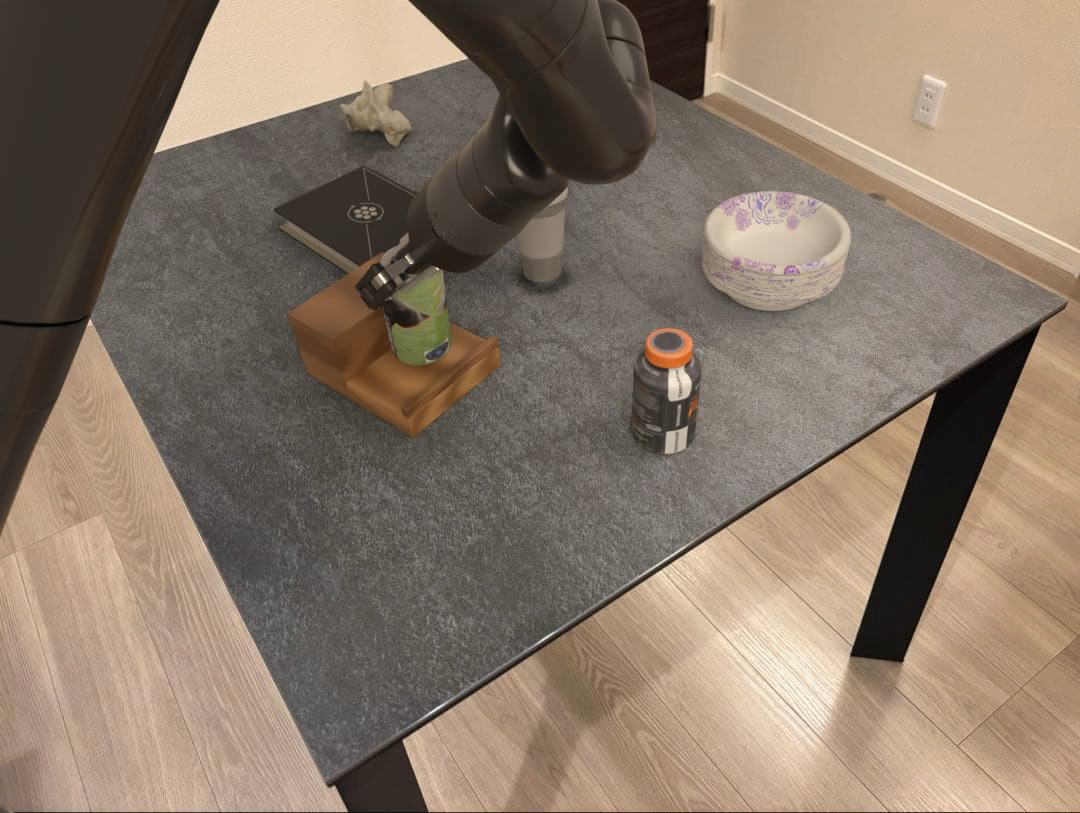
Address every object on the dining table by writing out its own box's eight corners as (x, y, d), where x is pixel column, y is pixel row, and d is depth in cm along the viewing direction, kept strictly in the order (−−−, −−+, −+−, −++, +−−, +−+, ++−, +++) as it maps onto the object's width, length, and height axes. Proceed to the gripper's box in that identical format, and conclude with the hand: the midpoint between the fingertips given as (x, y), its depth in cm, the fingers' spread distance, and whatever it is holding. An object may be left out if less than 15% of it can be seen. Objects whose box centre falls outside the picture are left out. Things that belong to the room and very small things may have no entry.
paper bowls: (734, 342, 87) (742, 280, 81) (678, 263, 97) (682, 204, 92) (864, 311, 89) (881, 249, 83) (796, 238, 100) (807, 178, 94)
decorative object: (393, 124, 131) (390, 71, 126) (434, 152, 121) (432, 96, 117) (340, 132, 126) (334, 78, 122) (378, 162, 117) (374, 104, 113)
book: (472, 240, 104) (469, 219, 101) (377, 294, 97) (372, 273, 94) (370, 184, 115) (365, 164, 113) (278, 229, 108) (272, 208, 106)
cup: (502, 268, 99) (492, 177, 90) (547, 247, 101) (541, 157, 93) (537, 295, 95) (530, 203, 86) (583, 273, 97) (580, 181, 89)
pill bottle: (698, 455, 76) (709, 363, 68) (633, 457, 76) (636, 366, 68) (691, 410, 80) (699, 318, 72) (629, 412, 80) (631, 320, 72)
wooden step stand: (413, 438, 80) (398, 376, 74) (307, 373, 87) (286, 313, 82) (501, 364, 86) (493, 303, 81) (395, 310, 94) (382, 251, 89)
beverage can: (436, 325, 86) (417, 224, 78) (470, 362, 81) (453, 258, 73) (381, 348, 84) (356, 247, 76) (413, 387, 79) (389, 284, 71)
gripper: (504, 129, 67) (424, 215, 81) (373, 208, 59) (310, 288, 73) (559, 206, 68) (470, 277, 82) (437, 293, 60) (363, 355, 74)
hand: (395, 282), depth 77 cm, fingers closed on beverage can, 6 cm apart
